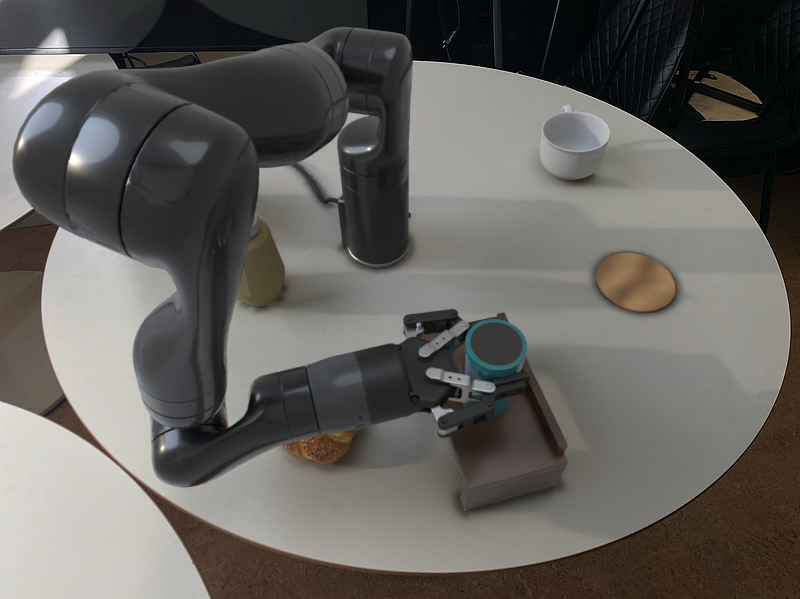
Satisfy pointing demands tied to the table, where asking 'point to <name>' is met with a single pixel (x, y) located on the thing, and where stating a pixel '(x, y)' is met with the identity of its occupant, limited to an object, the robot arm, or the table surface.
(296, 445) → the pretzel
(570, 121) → the teacup
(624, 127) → the table surface
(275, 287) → the squeeze bottle
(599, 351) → the table surface
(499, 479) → the shelf
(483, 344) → the cup
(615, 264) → the coaster
